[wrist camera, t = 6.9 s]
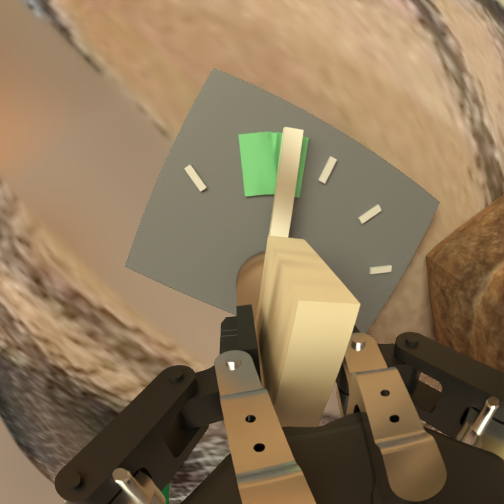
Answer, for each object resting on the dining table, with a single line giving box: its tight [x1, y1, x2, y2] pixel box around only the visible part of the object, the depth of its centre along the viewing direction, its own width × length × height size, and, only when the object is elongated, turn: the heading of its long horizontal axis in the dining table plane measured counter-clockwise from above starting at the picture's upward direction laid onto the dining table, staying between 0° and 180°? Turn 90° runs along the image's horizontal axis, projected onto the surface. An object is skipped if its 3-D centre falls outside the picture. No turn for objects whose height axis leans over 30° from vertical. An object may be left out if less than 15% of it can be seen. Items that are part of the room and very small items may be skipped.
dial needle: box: [236, 127, 360, 427], centre depth 12 cm, size 12×4×10 cm, turn 173°
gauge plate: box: [125, 68, 440, 334], centre depth 18 cm, size 13×17×2 cm
